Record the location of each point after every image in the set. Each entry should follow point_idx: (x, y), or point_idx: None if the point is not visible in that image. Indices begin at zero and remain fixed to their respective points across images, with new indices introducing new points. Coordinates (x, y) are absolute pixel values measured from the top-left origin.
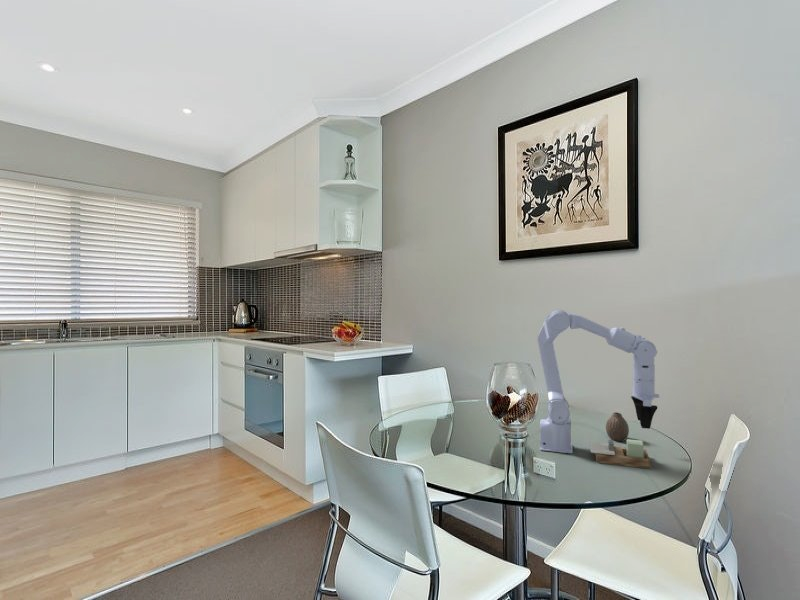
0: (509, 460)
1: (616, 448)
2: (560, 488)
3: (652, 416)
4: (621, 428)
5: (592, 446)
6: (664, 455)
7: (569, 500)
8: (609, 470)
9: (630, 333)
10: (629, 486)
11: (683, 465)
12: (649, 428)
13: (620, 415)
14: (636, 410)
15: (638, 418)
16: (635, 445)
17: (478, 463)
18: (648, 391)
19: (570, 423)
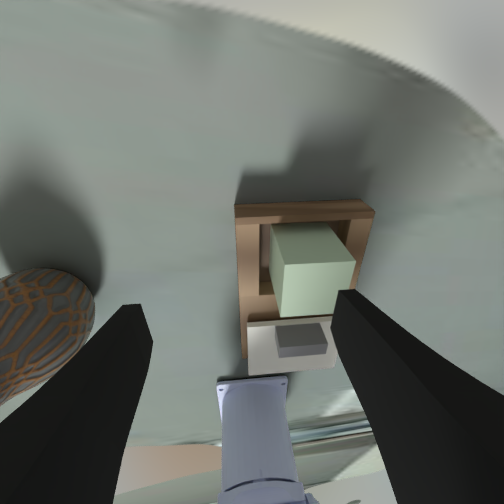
0: (350, 434)
1: (261, 309)
2: (480, 368)
3: (471, 378)
4: (67, 324)
5: (293, 367)
6: (173, 116)
7: None
8: (385, 304)
9: None
10: (493, 264)
11: (292, 34)
12: (357, 291)
13: None
14: (127, 436)
15: (150, 354)
16: (346, 286)
17: (370, 453)
18: None
19: (270, 474)
